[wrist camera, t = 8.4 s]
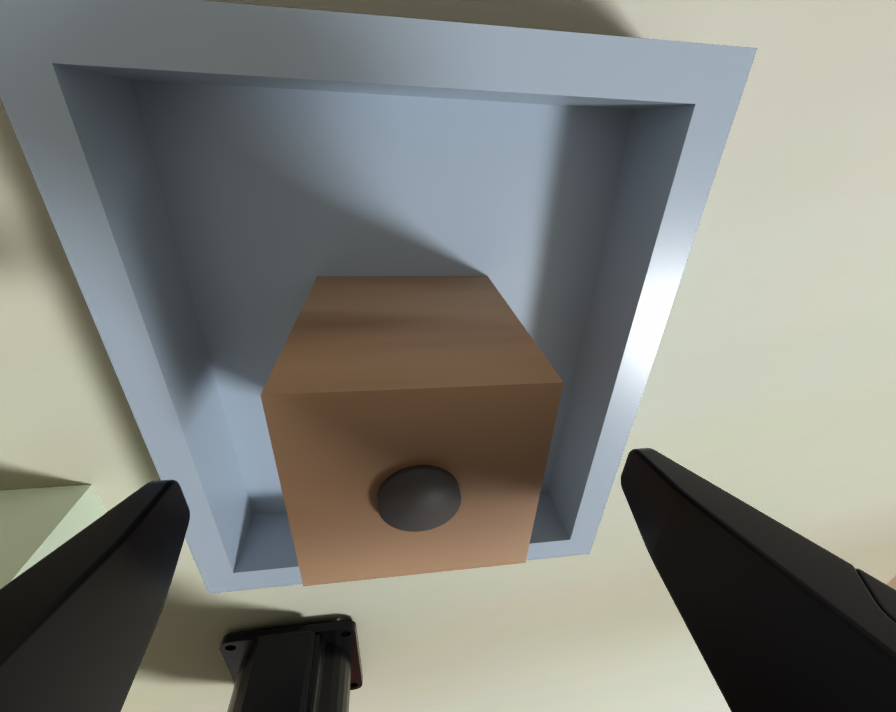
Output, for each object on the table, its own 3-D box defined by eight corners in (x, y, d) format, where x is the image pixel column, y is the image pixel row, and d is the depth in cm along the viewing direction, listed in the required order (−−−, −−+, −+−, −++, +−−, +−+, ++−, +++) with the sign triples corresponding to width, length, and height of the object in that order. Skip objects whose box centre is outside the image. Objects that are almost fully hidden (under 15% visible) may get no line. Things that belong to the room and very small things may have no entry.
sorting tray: (560, 494, 18) (589, 553, 16) (236, 520, 16) (208, 594, 14) (666, 68, 11) (757, 48, 8) (79, 24, 9) (-51, -22, 6)
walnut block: (475, 409, 15) (527, 570, 9) (334, 416, 14) (301, 595, 8) (487, 275, 12) (568, 388, 7) (317, 276, 11) (257, 401, 6)
